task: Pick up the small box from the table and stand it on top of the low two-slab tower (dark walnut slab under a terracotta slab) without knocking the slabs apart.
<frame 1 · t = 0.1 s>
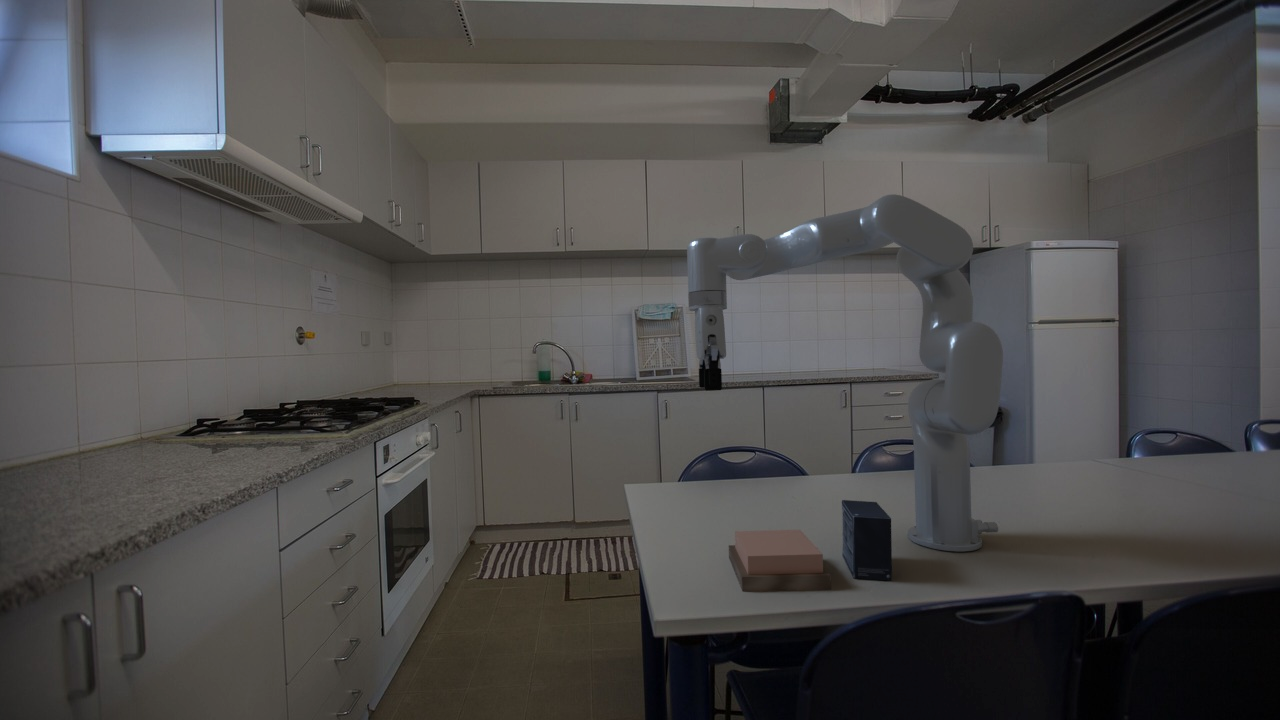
hand: (710, 388, 103), 31 cm above the table, fingers open, 9 cm apart
small box: (866, 569, 90), on the table
walnut slab: (775, 576, 90), on the table, touching terracotta slab
terracotta slab: (776, 559, 89), point 2 cm above the table, touching walnut slab
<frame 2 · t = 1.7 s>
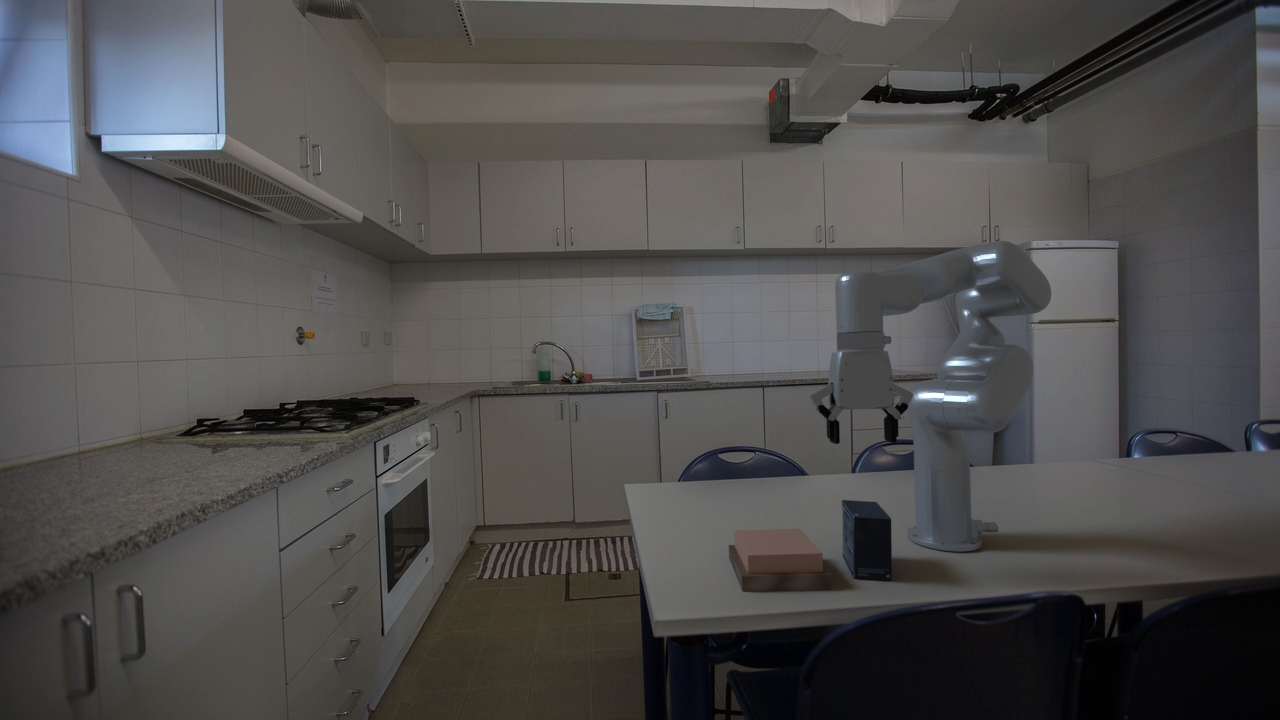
hand: (862, 442, 90), 22 cm above the table, fingers open, 9 cm apart
nothing on the table moved.
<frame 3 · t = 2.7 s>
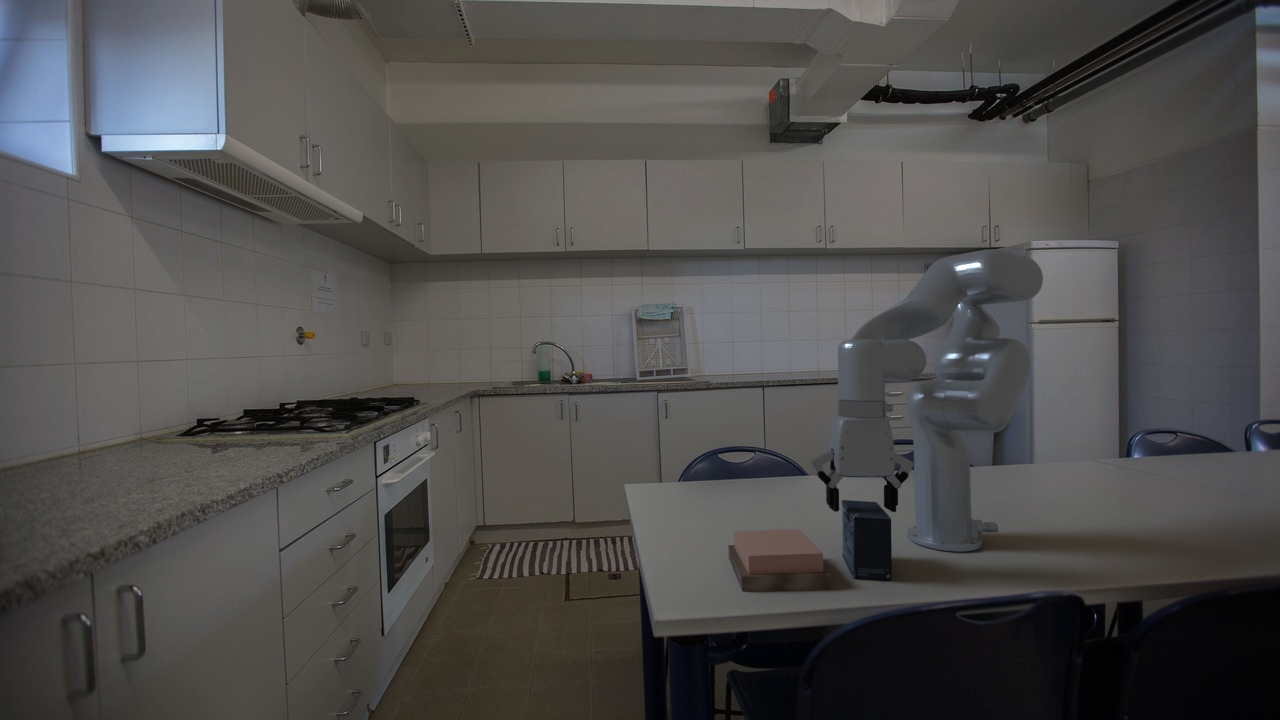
hand: (861, 509, 90), 10 cm above the table, fingers open, 9 cm apart
nothing on the table moved.
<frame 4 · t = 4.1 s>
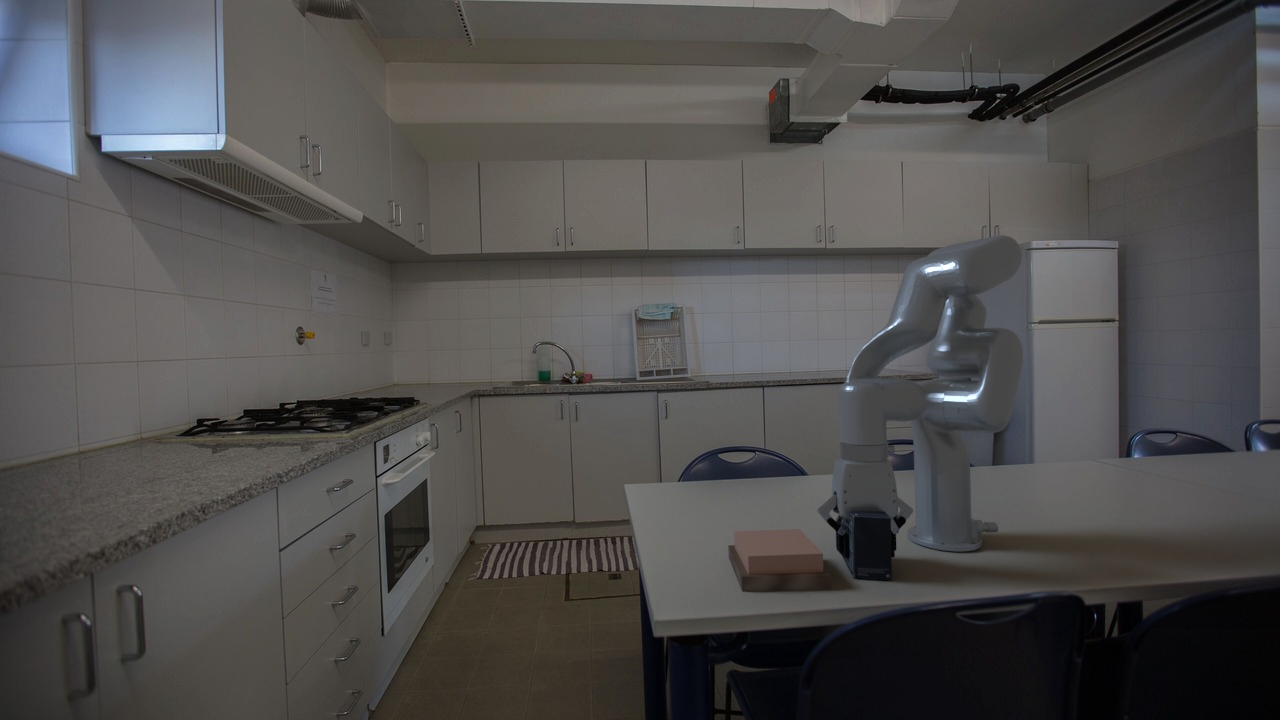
hand: (866, 554, 90), 2 cm above the table, fingers closed on small box, 7 cm apart
small box: (866, 569, 90), on the table, touching gripper
everything else where it was.
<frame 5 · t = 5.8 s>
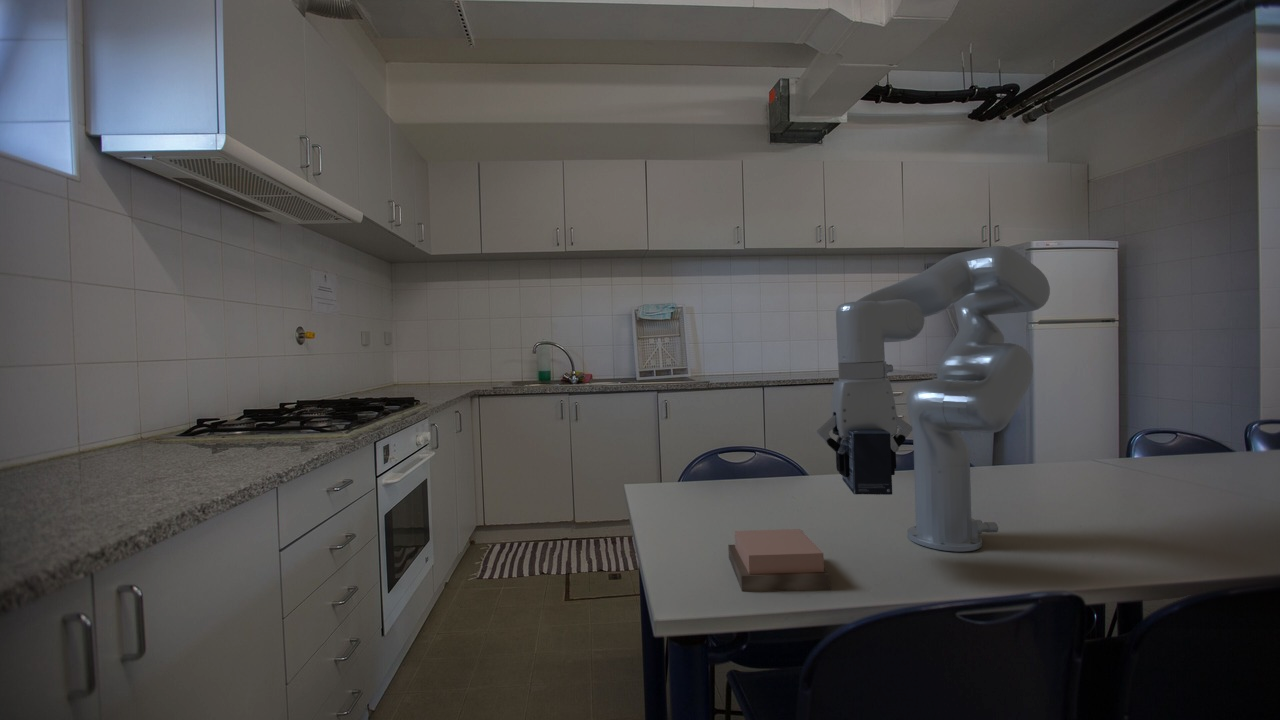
hand: (866, 473, 91), 16 cm above the table, fingers closed on small box, 7 cm apart
small box: (867, 488, 91), point 14 cm above the table, touching gripper
everything else where it was.
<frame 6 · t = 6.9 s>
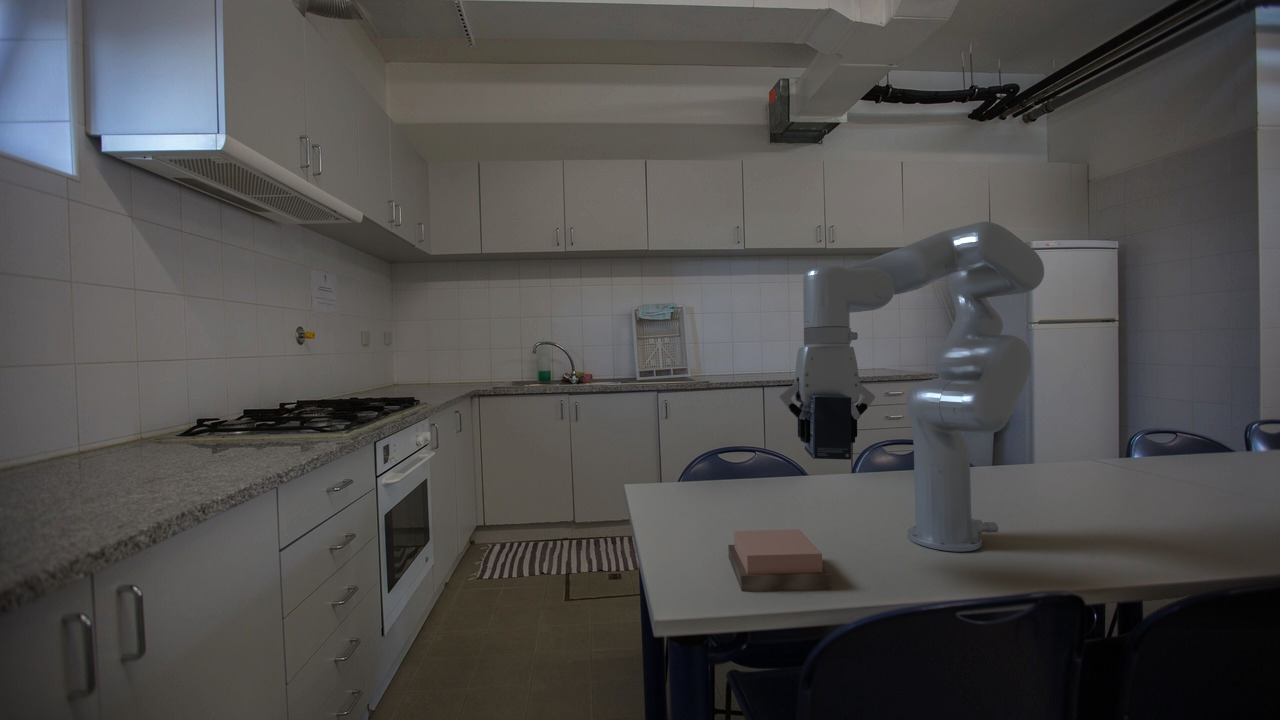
hand: (827, 441, 90), 22 cm above the table, fingers closed on small box, 7 cm apart
small box: (827, 456, 90), point 20 cm above the table, touching gripper
everything else where it was.
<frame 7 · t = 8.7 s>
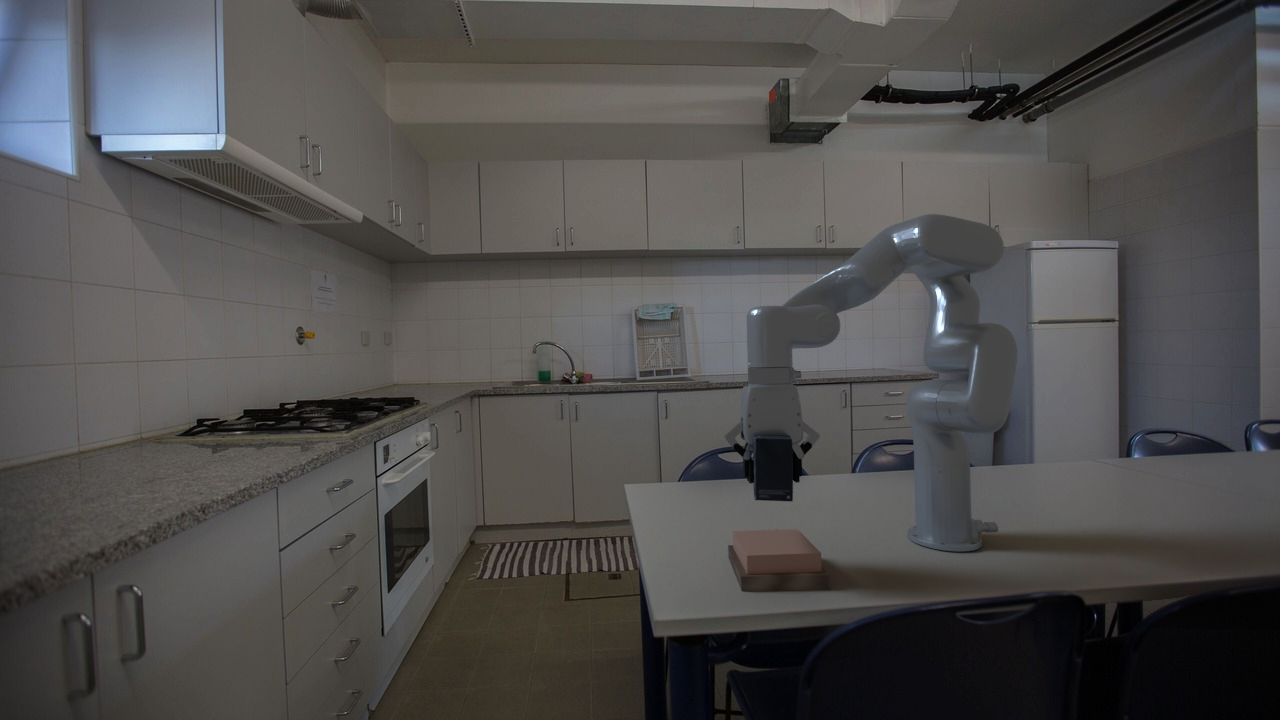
hand: (772, 480, 89), 16 cm above the table, fingers closed on small box, 7 cm apart
small box: (772, 495, 89), point 13 cm above the table, touching gripper
everything else where it was.
when the fingers open (10 cm above the table, at t = 10.3 s): small box drops 2 cm, resting on terracotta slab.
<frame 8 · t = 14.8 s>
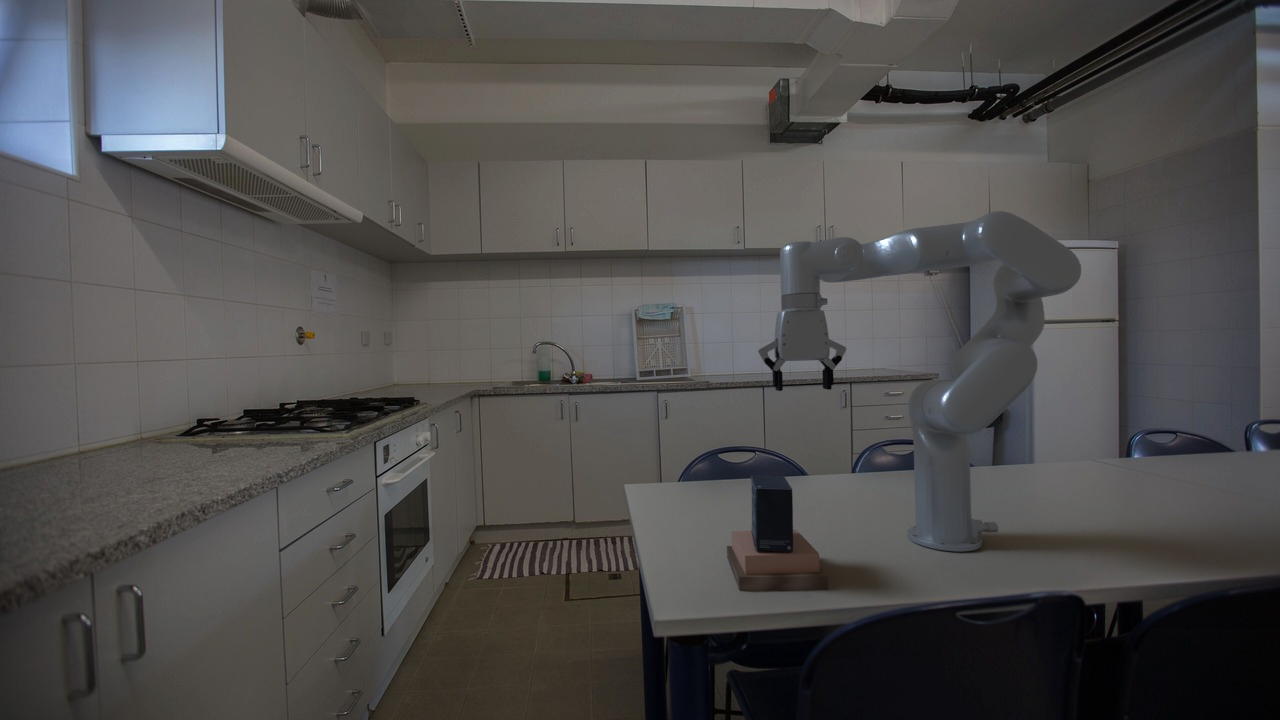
hand: (803, 389, 104), 30 cm above the table, fingers open, 9 cm apart
small box: (772, 543, 90), point 5 cm above the table, touching terracotta slab
terracotta slab: (772, 559, 90), point 2 cm above the table, touching small box, walnut slab
everything else where it was.
at the end: small box 0.3 cm off-centre on the terracotta slab, point 2.9 cm above the terracotta slab's base; small box tilted 1°; terracotta slab 0.3 cm off-centre on the walnut slab, point 3.0 cm above the walnut slab's base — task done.
